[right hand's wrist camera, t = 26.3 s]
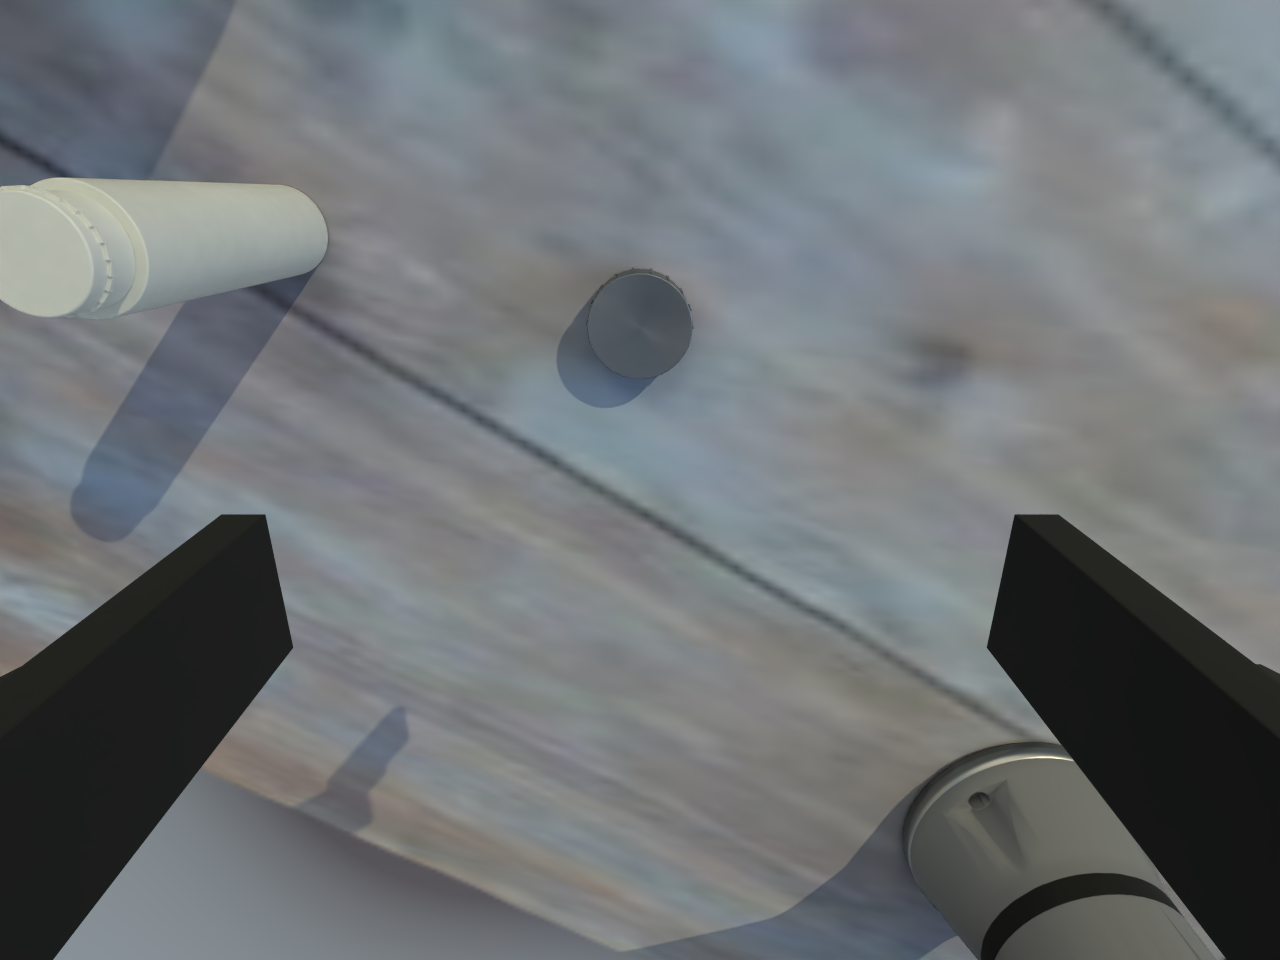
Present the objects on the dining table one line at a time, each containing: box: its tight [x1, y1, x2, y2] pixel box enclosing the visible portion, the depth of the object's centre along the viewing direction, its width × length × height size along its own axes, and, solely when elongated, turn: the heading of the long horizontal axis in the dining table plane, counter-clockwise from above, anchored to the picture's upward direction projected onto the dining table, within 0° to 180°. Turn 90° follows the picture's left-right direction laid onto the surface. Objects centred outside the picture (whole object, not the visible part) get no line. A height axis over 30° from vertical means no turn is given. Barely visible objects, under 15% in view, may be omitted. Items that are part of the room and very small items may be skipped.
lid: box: [586, 268, 693, 379], centre depth 37 cm, size 5×5×2 cm
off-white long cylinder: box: [0, 178, 328, 320], centre depth 29 cm, size 4×4×16 cm
